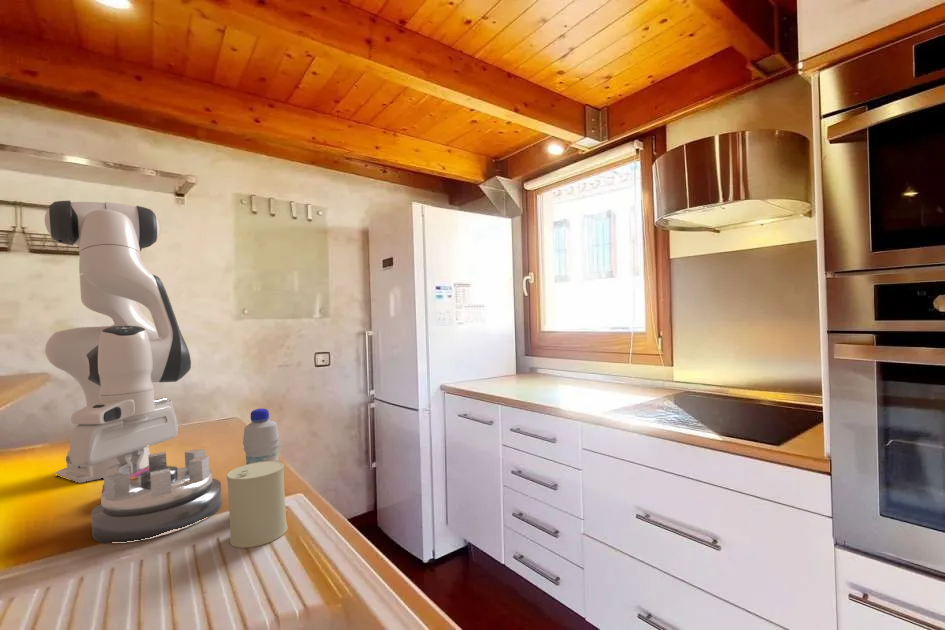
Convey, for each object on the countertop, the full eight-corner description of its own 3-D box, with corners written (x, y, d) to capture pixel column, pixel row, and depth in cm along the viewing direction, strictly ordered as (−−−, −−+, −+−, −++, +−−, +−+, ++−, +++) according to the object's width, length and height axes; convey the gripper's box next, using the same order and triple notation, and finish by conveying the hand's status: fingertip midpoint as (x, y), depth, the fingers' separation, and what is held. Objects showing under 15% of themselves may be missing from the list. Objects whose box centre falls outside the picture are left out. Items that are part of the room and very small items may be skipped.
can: (217, 544, 76) (213, 474, 76) (260, 519, 85) (256, 456, 85) (258, 551, 73) (254, 478, 73) (298, 525, 82) (295, 460, 82)
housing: (63, 537, 82) (62, 515, 82) (171, 492, 102) (171, 474, 102) (147, 549, 76) (146, 525, 76) (245, 499, 96) (244, 479, 96)
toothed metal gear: (140, 521, 77) (138, 483, 77) (79, 508, 84) (77, 474, 84) (232, 482, 94) (230, 451, 94) (175, 475, 101) (173, 446, 101)
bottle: (268, 514, 87) (263, 412, 87) (238, 513, 88) (233, 412, 88) (289, 500, 94) (284, 405, 94) (261, 499, 95) (256, 405, 95)
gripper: (160, 395, 102) (163, 456, 102) (61, 417, 82) (65, 492, 82) (183, 395, 100) (186, 456, 101) (89, 417, 80) (93, 494, 81)
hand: (131, 473), depth 91 cm, fingers closed
